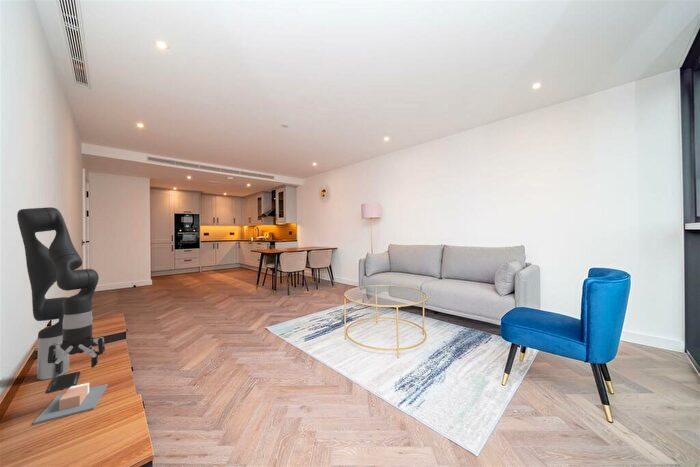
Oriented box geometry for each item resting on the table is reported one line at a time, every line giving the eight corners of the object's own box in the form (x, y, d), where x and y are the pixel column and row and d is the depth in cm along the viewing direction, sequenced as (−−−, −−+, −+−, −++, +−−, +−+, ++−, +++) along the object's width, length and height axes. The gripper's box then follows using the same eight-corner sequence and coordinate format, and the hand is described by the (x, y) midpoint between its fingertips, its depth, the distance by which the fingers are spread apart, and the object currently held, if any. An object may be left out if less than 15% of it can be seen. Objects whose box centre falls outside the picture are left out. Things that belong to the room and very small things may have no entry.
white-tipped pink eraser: (79, 405, 91) (79, 395, 91) (59, 410, 88) (59, 400, 88) (89, 391, 99) (89, 382, 100) (70, 396, 97) (70, 386, 97)
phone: (80, 370, 116) (76, 384, 105) (80, 373, 116) (76, 386, 105) (53, 377, 111) (46, 391, 100) (53, 380, 111) (46, 394, 100)
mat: (58, 396, 98) (58, 394, 98) (107, 385, 105) (107, 383, 105) (33, 424, 83) (33, 422, 83) (93, 409, 90) (93, 407, 90)
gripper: (44, 331, 88) (43, 380, 88) (101, 324, 96) (101, 368, 95) (54, 325, 94) (53, 370, 94) (106, 318, 102) (106, 360, 102)
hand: (77, 369), depth 95 cm, fingers open, 8 cm apart
